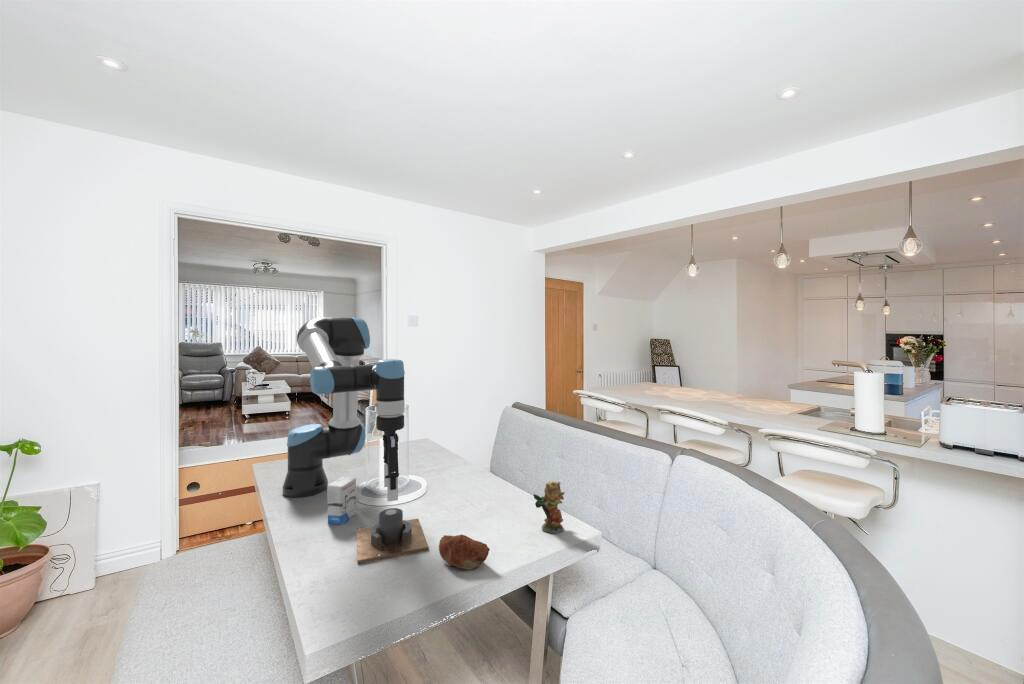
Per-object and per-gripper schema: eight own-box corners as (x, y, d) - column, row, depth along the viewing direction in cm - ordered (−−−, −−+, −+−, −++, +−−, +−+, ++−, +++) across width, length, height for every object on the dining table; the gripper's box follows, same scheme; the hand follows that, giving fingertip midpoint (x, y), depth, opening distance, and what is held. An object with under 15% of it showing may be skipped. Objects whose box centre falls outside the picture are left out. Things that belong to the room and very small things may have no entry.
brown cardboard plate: (356, 531, 122) (356, 520, 122) (418, 521, 129) (418, 510, 129) (357, 564, 105) (357, 550, 105) (428, 550, 112) (428, 537, 112)
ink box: (341, 525, 126) (340, 487, 126) (326, 523, 127) (326, 485, 127) (357, 512, 135) (356, 477, 134) (343, 511, 136) (343, 475, 135)
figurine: (566, 525, 126) (567, 477, 126) (561, 537, 119) (561, 486, 119) (538, 521, 129) (538, 473, 129) (531, 532, 122) (531, 482, 122)
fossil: (429, 546, 108) (451, 514, 108) (450, 548, 114) (471, 517, 114) (454, 584, 99) (478, 549, 99) (475, 585, 105) (498, 552, 105)
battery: (378, 534, 119) (378, 508, 118) (401, 530, 121) (401, 505, 121) (380, 545, 113) (379, 518, 112) (404, 540, 115) (404, 514, 115)
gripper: (374, 408, 125) (374, 480, 126) (379, 424, 104) (379, 511, 105) (399, 406, 128) (399, 477, 128) (409, 422, 107) (409, 507, 107)
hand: (390, 492), depth 117 cm, fingers open, 10 cm apart
